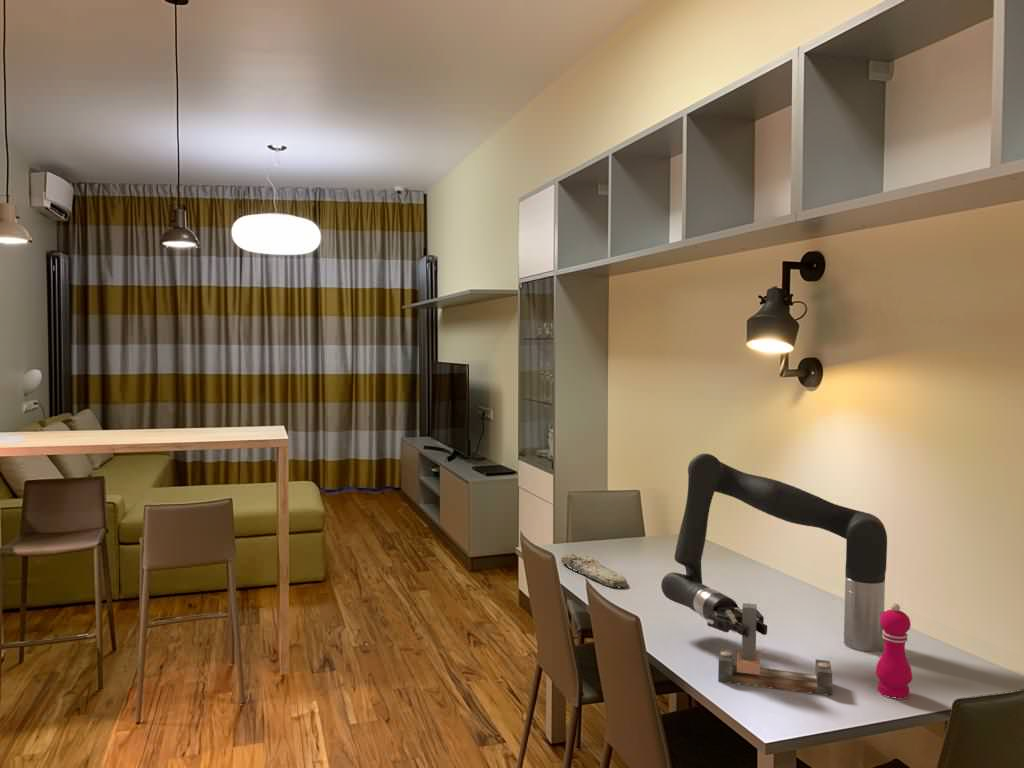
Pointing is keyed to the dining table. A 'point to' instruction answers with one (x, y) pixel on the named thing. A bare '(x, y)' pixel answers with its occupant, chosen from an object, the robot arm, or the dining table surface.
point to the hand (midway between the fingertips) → (756, 631)
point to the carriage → (749, 643)
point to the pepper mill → (894, 654)
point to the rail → (778, 676)
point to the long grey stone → (594, 570)
